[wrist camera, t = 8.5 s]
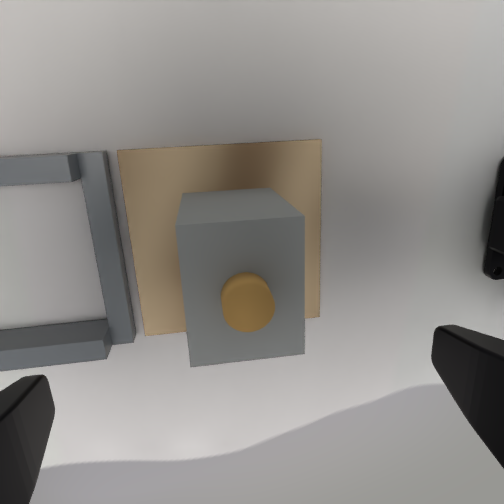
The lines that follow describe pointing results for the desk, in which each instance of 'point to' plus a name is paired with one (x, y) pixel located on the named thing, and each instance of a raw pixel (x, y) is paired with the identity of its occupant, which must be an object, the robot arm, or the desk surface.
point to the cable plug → (241, 275)
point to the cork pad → (204, 180)
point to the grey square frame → (107, 256)
